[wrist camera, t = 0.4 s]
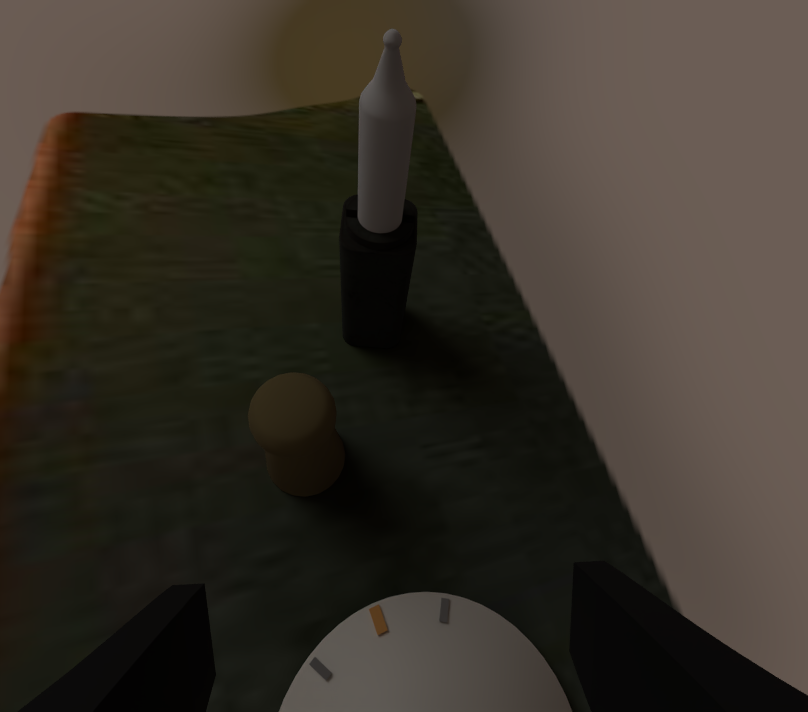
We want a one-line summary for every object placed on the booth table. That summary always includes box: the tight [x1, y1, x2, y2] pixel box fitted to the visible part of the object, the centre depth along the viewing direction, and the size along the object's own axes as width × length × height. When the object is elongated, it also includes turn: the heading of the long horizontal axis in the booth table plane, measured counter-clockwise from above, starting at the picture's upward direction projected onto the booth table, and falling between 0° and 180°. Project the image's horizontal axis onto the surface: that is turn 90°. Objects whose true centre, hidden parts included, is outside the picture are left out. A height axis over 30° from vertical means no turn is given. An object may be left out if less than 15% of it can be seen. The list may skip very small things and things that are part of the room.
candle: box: [339, 29, 417, 348], centre depth 33 cm, size 5×5×25 cm
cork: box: [248, 372, 345, 497], centre depth 33 cm, size 6×6×11 cm
